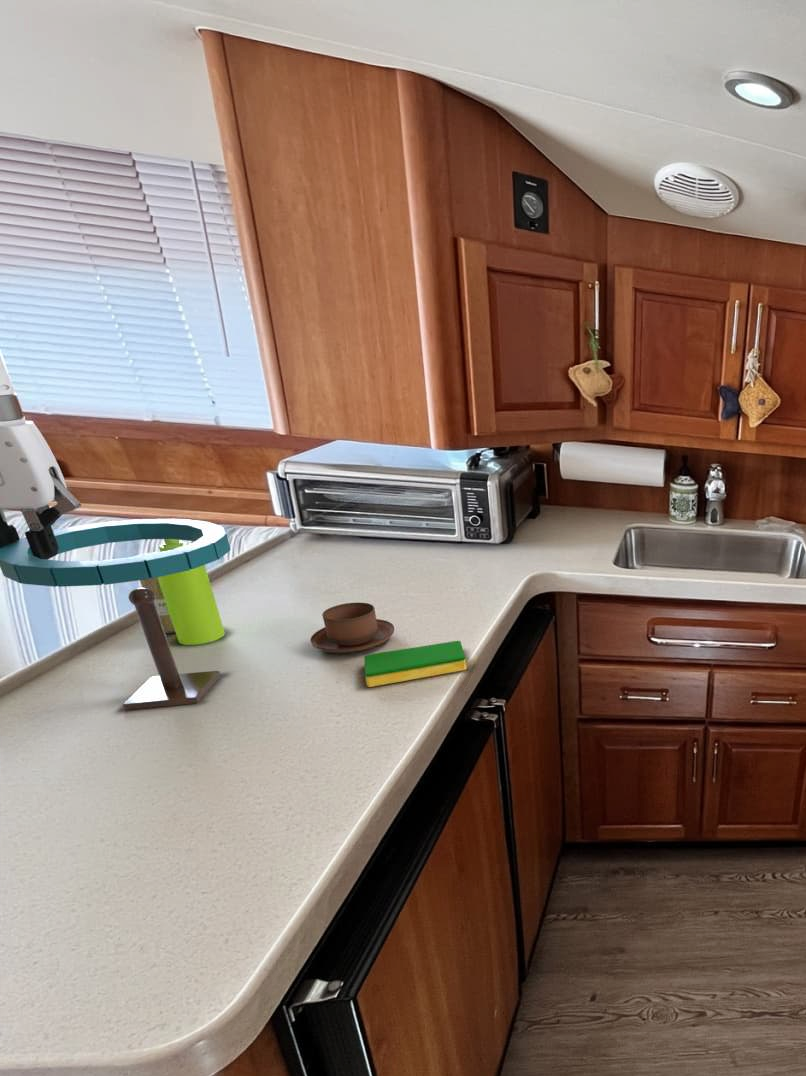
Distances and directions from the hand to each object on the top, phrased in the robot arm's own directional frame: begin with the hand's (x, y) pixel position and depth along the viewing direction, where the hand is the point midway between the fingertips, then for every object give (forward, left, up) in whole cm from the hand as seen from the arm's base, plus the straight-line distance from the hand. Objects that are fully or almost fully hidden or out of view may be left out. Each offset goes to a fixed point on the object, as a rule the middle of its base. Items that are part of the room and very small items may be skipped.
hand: (30, 557), depth 81 cm
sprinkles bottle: (0, +24, -22) cm, 33 cm away
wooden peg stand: (+9, 0, -22) cm, 23 cm away
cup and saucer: (+29, +12, -22) cm, 38 cm away
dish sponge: (+40, 0, -22) cm, 46 cm away
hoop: (+9, 0, 0) cm, 9 cm away
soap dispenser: (+5, +19, -22) cm, 30 cm away
